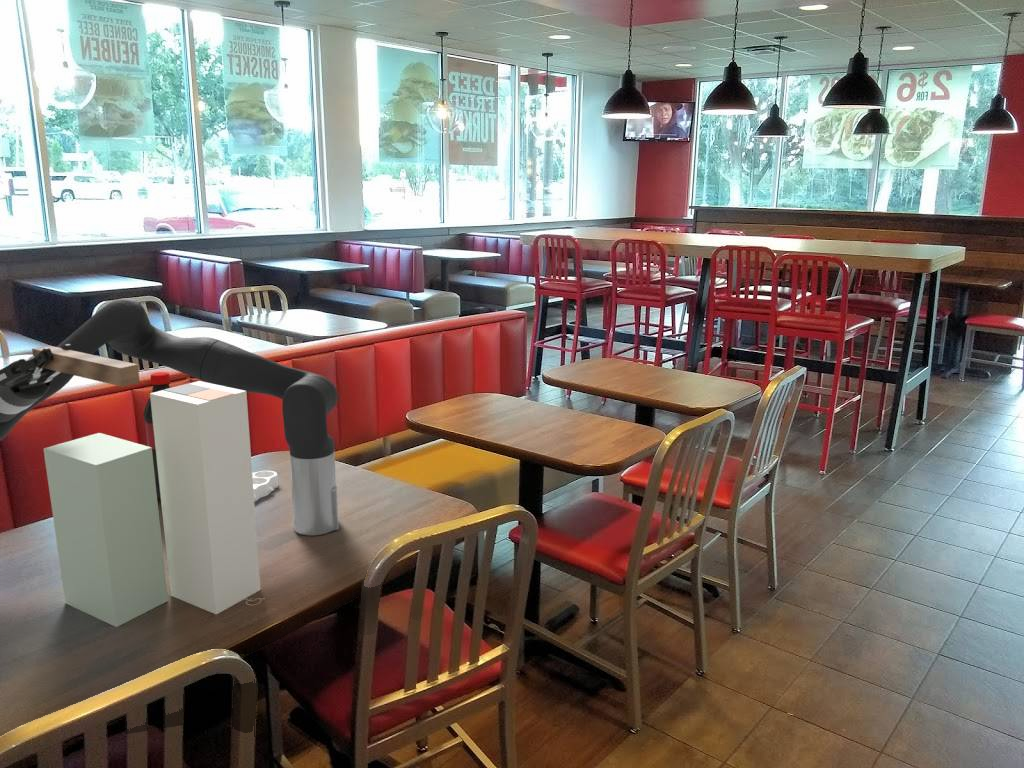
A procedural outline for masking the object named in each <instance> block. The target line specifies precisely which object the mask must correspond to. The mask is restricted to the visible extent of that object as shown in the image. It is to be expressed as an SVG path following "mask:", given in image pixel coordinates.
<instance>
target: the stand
mask: <svg viewBox="0 0 1024 768" xmlns="http://www.w3.org/2000/svg"><path fill="white" fill-rule="evenodd" d="M149 398H150V399H151V409H152V419H153V428H154V438H155V447H156V457H157V466H158V476H159V485H160V495H161V500H160V503H161V512H162V513H161V514H162V523H163V530H164V531H163V532H164V540H165V541H164V542H165V550H166V551H165V553H166V558H167V559H166V560H167V571H168V579H169V581H168V582H169V589H170V596H171V597H173V598H175V599H178V600H181V601H182V602H183V601H184V602H185V603H188V604H190V605H192V606H195V607H197V608H199V609H203V610H204V611H207V612H209V613H212V614H214V615H218V614H220V613H221V612H223V611H225V610H227V609H229V608H230V607H232V606H235V605H236V604H238V603H240V602H241V601H243V600H245V599H247V598H248V597H250V596H252V595H254V594H256V593H257V592H259V591H260V590H262V588H261V578H260V577H261V576H260V564H259V563H260V561H259V551H258V550H259V548H258V539H257V538H258V536H257V524H256V523H257V522H256V519H257V518H256V507H255V501H254V491H253V477H252V473H253V465H252V453H251V452H252V451H251V437H250V425H249V424H250V423H249V411H248V409H249V408H248V399H247V398H248V397H247V392H246V391H244V390H240V389H235V388H230V387H225V386H221V385H216V384H211V383H207V382H204V381H202V380H198V381H194V382H190V383H185V384H181V385H176V386H172V387H170V388H168V389H164V390H162V391H158V392H154V393H152V392H151V393H149Z"/></svg>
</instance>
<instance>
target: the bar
mask: <svg viewBox="0 0 1024 768" xmlns="http://www.w3.org/2000/svg"><path fill="white" fill-rule="evenodd" d="M45 348H50V350H51V352H52V355H53V360H52V361H51V362H50V363H49V364H48V365H46V366H45V367H43V368H45V369H50V370H54V371H58V372H62V373H66V374H71V375H74V376H76V377H78V378H79V377H80V378H84V379H89V380H92V381H95V382H96V381H97V382H102V383H105V384H109V385H114V386H117V387H121V388H124V387H129V386H131V385H137V384H139V383H140V374H139V365H138V363H133V362H129V361H123V360H118V359H113V358H109V357H105V356H101V355H95V354H92V355H91V354H87V353H82V352H77V351H72V350H67V349H62V348H58V347H57V346H52V345H45V346H40V347H34V348H32V356H36V355H37V354H39V353H40V352H41V351H42V350H43V349H45Z"/></svg>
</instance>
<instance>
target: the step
mask: <svg viewBox="0 0 1024 768" xmlns="http://www.w3.org/2000/svg"><path fill="white" fill-rule="evenodd" d="M42 451H43V454H44V463H45V469H46V478H47V483H48V491H49V498H50V503H51V513H52V519H53V526H54V533H55V539H56V546H57V547H56V548H57V555H58V560H59V568H60V575H61V581H62V582H61V583H62V588H63V594H64V601H65V602H64V604H66V605H69V606H71V607H72V608H75V609H77V610H79V611H81V612H83V613H85V614H88V615H90V616H92V617H94V618H96V619H97V620H100V621H102V622H104V623H107V624H109V625H111V626H113V627H115V628H118V627H119V626H122V625H124V624H126V623H127V622H129V621H131V620H134V619H136V618H137V617H139V616H141V615H143V614H145V613H148V612H150V611H151V610H153V609H155V608H156V607H159V606H161V605H163V604H165V603H166V602H168V601H169V599H168V589H167V580H166V579H167V578H166V572H165V561H164V559H165V558H164V553H163V551H164V550H163V541H162V533H161V532H162V531H161V523H160V513H159V506H158V505H159V504H158V499H157V493H156V484H155V474H154V465H153V455H152V447H148V445H145V444H140V443H137V442H133V441H129V440H127V439H123V438H119V437H116V436H112V435H108V434H106V433H102V432H97V433H94V434H89V435H87V436H82V437H79V438H75V439H73V440H72V439H71V440H69V441H65V442H62V443H58V444H55V445H51V446H47V447H44V448H43V450H42Z"/></svg>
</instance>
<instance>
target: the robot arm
mask: <svg viewBox="0 0 1024 768" xmlns="http://www.w3.org/2000/svg"><path fill="white" fill-rule="evenodd" d="M106 344H108V345H109V346H110V348H112V349H113V351H114V350H115V351H116V352H117V353H120V354H122V355H125V356H129V357H131V358H132V357H133V358H136V359H140V360H143V361H148V362H150V363H151V362H152V363H155V364H158V365H161V366H164V367H166V368H170V369H172V370H175V371H177V372H178V373H179V372H180V373H182V374H185V375H188V376H191V377H192V378H196V379H198V381H202V382H206V383H211V384H216V385H221V386H225V387H230V388H235V389H240V390H244V391H246V393H254V394H262V395H267V396H272V397H274V398H277V399H279V400H282V403H281V405H282V406H281V410H282V411H281V412H282V421H283V431H284V438H285V442H286V444H287V446H288V448H289V461H290V462H289V464H290V479H291V480H290V482H291V497H292V499H291V500H292V515H293V517H292V519H293V529H294V530H293V531H295V533H297V534H300V535H301V536H302V535H303V536H321V535H325V534H328V533H329V534H330V532H334V531H339V509H338V506H339V505H338V504H339V503H338V489H337V488H338V487H337V482H336V481H337V479H336V478H337V475H336V455H335V454H336V452H335V440H334V439H335V438H334V437H332V436H331V435H330V434H328V423H327V415H328V414H330V413H331V412H332V411H333V410H334V409H335V407H336V406H337V403H338V400H339V393H338V390H337V388H336V386H335V384H334V383H333V382H332V381H331V380H330V379H328V378H327V377H325V376H323V375H321V374H319V373H314V372H312V371H306V370H302V369H299V368H294V367H291V366H288V365H285V364H281V363H279V362H276V361H274V360H272V359H269V358H266V357H263V356H261V355H259V354H256V353H253V352H250V351H247V349H246V350H245V349H243V348H240V347H238V346H236V345H234V344H230V343H228V342H225V341H223V340H221V339H220V340H219V339H216V338H214V337H207V336H203V337H202V336H201V337H200V336H198V337H180V336H177V335H173V334H170V333H168V332H165V331H163V330H162V329H159V328H157V327H155V326H153V324H151V322H150V319H149V317H148V314H147V311H146V310H145V308H144V306H143V305H142V304H141V303H140V302H139V301H137V300H135V299H133V298H126V297H125V298H118V299H115V300H112V301H110V302H109V303H107V304H105V305H104V306H103V307H101V308H100V309H99V310H98V311H97V312H95V313H94V314H93V315H92V316H91V317H90V318H89V319H87V320H86V321H85V322H84V323H83V324H82V325H81V326H79V327H78V328H77V329H76V330H75V331H74V332H72V333H71V334H70V335H69V336H68V337H66V339H64V340H63V341H62V342H61V343H59V344H58V345H57V346H56V347H58V348H62V349H67V350H72V351H77V352H82V353H87V354H91V355H94V353H95V352H96V351H97V350H99V349H100V348H101V347H103V346H104V345H106ZM52 360H53V355H52V352H51V350H50V348H45V349H43V350H42V351H41V352H40V353H39V354H37V355H36V356H33V355H31V356H30V357H28V358H26V359H25V358H20V359H17V360H14V361H13V362H11V363H10V364H8V365H7V366H5V367H3V368H1V369H0V442H1V441H3V439H5V438H6V437H7V435H9V434H10V432H11V431H12V430H13V429H14V428H15V426H16V425H17V423H19V421H21V419H22V418H23V417H24V416H26V414H28V413H29V412H30V411H31V410H33V408H35V407H37V405H39V404H41V403H42V402H44V401H46V400H47V399H48V398H50V397H52V396H53V395H55V394H56V393H58V392H59V391H60V390H62V389H63V388H64V387H65V386H66V385H68V383H69V382H70V381H71V379H72V378H73V377H74V376H75V375H71V374H66V373H62V372H58V371H54V370H50V369H45V368H43V367H45V366H46V365H48V364H49V363H50V362H51V361H52Z"/></svg>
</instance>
